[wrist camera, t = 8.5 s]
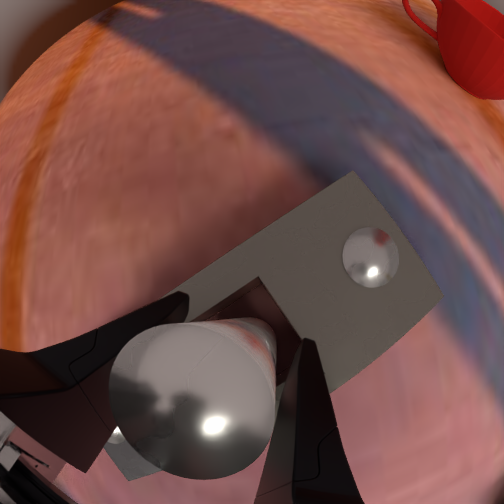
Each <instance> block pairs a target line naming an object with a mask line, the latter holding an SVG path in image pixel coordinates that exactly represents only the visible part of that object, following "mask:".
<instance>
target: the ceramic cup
mask: <svg viewBox="0 0 504 504" xmlns="http://www.w3.org/2000/svg"><path fill="white" fill-rule="evenodd" d="M432 2H433V3H434V4H435V6H436V9H437V14H438V17H437V32H436V31H434V30H433V29H431V28H430V27H429V26H427V25H426V24H425V23H424V22H422V21H421V20H420V19H419V18H418V17H417V16H416V15H415V14H414V12H413V11H412V10H411V8H410V6H409V2H408V0H402V3H403V6H404V9H405V11H406V12H407V14H408V15H409V17H410V18H411V19H412V20H413V21H414V22H415V23H416V24H417V25H418V26H419V27H420V28H422V29H423V30H424V31H425V32H427V33H428V34H429V35H430V36H432V37H433V38H434V39H436V40H437V41H438V46H439V49H440V53H441V55H442V58H443V61H444V63H445V68H446V70H447V72H448V73H449V75H450V76H451V77H452V78H453V80H454V81H455V82H456V83H457V84H458V85H460V86H461V87H462V88H463V89H464V90H466V91H467V92H468V93H470V94H471V95H473V96H475V97H477V98H480V99H492V100H504V15H502V14H501V13H500V12H499V11H498V10H496V9H495V8H493V7H492V6H490V5H489V4H487V3H486V2H484V1H483V0H441V1H439V0H432Z"/></svg>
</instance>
